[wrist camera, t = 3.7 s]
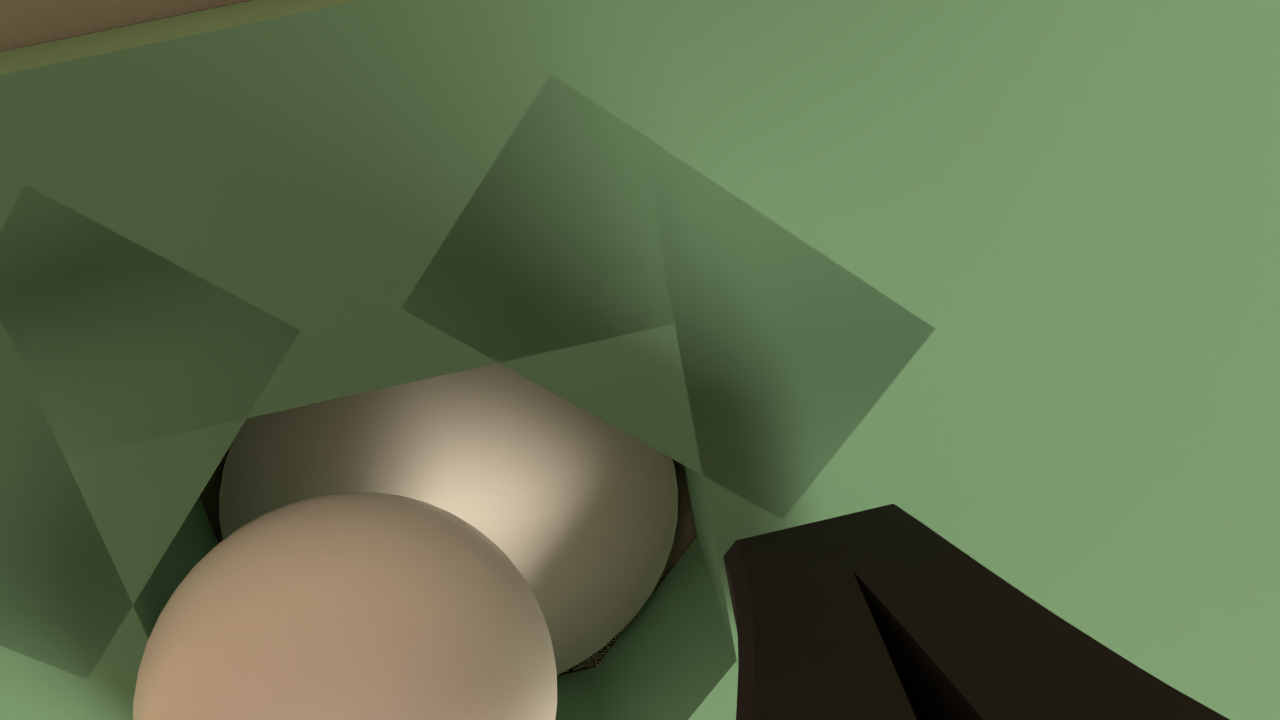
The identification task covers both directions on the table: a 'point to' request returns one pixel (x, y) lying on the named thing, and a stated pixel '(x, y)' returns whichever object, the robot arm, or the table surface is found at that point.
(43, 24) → the table surface
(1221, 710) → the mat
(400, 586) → the ball
